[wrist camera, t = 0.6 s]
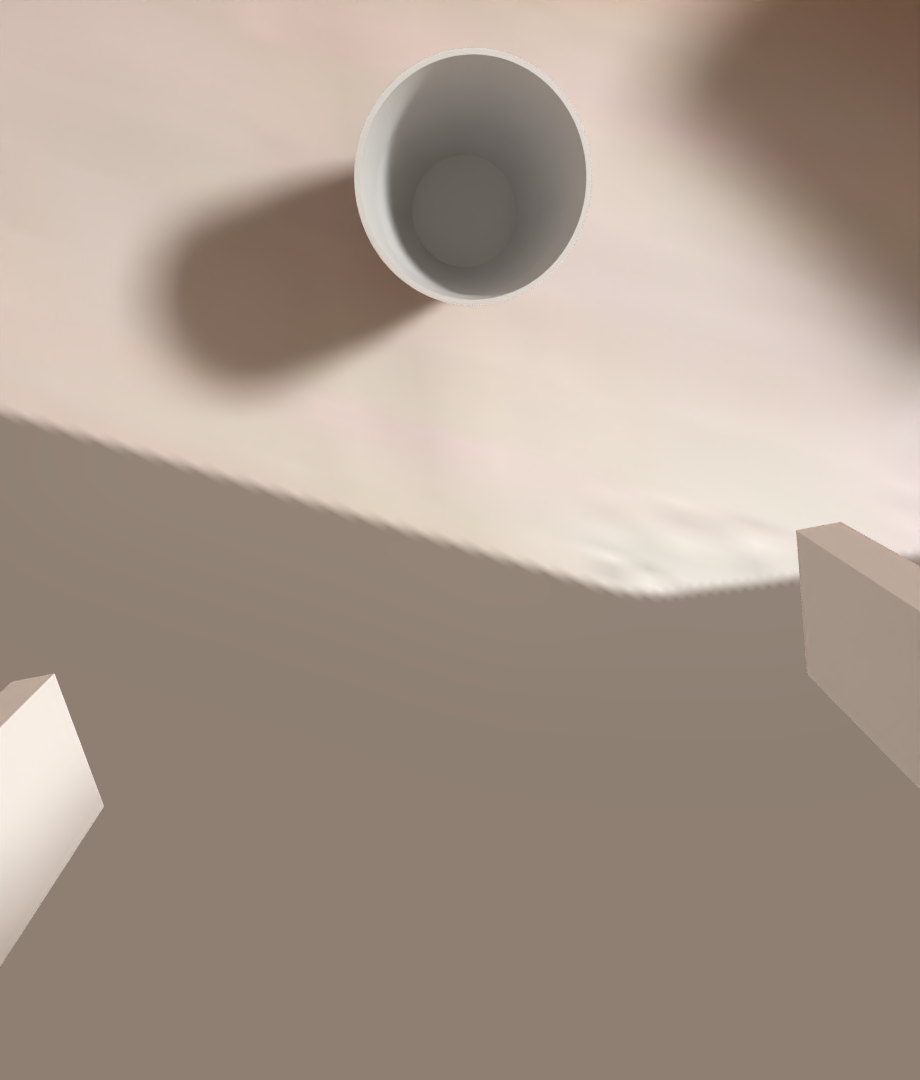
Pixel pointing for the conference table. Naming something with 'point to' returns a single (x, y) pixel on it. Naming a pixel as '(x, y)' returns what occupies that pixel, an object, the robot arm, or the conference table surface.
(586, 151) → the cup
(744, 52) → the conference table surface
